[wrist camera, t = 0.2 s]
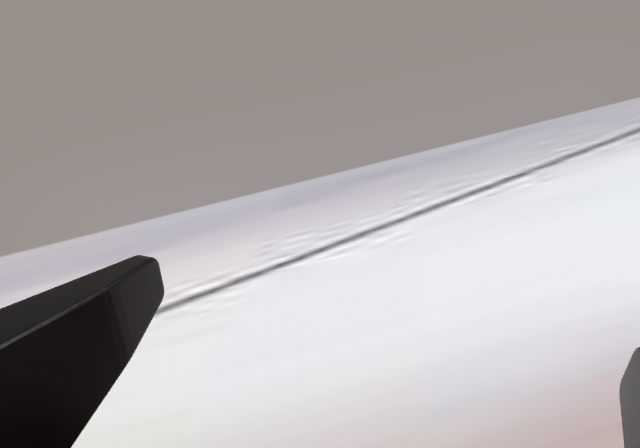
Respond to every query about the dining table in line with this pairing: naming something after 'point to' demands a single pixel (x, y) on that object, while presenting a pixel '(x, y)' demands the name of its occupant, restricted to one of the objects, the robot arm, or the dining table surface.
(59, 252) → the dining table surface
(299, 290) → the dining table surface
